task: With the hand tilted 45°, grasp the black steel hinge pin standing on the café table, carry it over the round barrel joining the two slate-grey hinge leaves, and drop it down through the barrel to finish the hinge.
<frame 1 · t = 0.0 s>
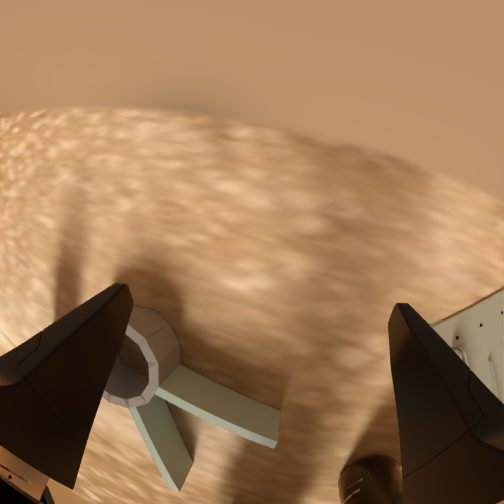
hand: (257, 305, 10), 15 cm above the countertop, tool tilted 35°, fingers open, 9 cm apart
supplement bottle: (367, 474, 24), on the countertop
metal bracket: (476, 358, 23), on the countertop
hinge: (142, 347, 26), on the countertop
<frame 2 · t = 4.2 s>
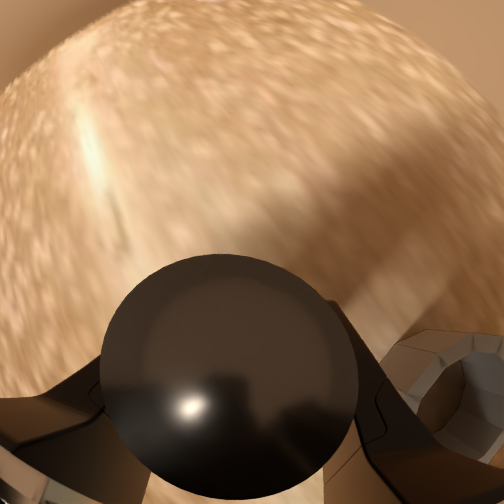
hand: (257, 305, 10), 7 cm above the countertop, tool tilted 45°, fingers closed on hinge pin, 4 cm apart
hinge pin: (265, 334, 16), on the countertop, touching gripper
hinge: (424, 394, 14), on the countertop
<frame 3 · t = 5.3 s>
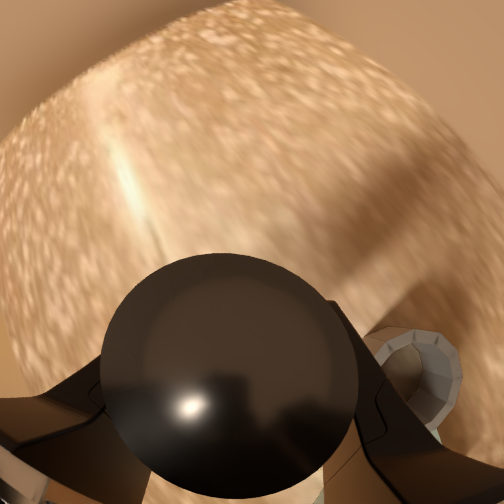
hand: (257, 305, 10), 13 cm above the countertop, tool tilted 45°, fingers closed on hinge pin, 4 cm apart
hinge pin: (265, 334, 16), point 7 cm above the countertop, touching gripper
hinge: (389, 375, 20), on the countertop
when the fingers open (12 cm above the countertop, at t = 6.8 s): hinge pin drops 6 cm, resting in hinge.
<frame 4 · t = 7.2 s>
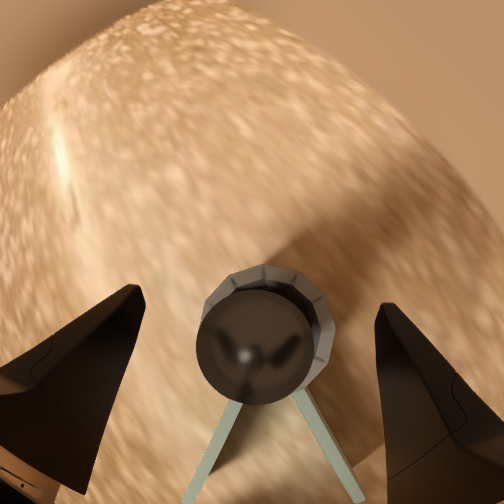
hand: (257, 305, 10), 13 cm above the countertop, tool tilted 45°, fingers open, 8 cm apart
hinge pin: (269, 329, 22), resting in hinge
hinge: (269, 328, 22), on the countertop
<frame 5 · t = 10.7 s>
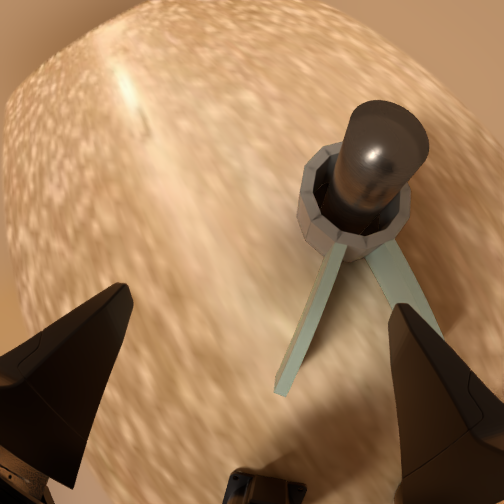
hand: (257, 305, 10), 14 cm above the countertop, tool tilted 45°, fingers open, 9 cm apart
hinge pin: (344, 215, 24), resting in hinge
hinge: (344, 214, 24), on the countertop
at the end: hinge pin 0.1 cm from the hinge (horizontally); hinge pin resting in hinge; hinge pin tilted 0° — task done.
